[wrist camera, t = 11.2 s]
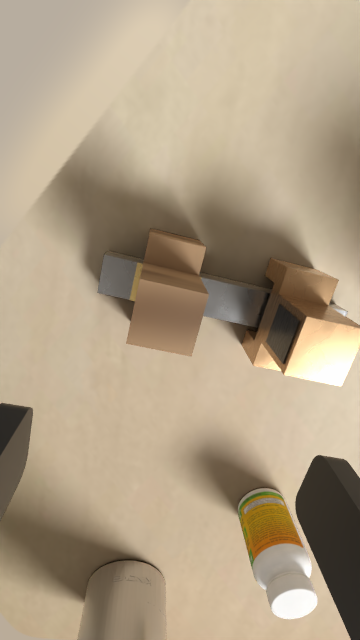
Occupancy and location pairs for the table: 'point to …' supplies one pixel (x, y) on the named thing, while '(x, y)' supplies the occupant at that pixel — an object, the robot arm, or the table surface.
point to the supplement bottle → (277, 553)
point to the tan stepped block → (169, 294)
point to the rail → (268, 316)
